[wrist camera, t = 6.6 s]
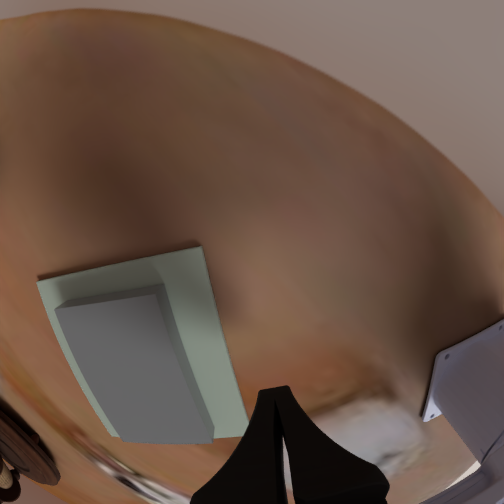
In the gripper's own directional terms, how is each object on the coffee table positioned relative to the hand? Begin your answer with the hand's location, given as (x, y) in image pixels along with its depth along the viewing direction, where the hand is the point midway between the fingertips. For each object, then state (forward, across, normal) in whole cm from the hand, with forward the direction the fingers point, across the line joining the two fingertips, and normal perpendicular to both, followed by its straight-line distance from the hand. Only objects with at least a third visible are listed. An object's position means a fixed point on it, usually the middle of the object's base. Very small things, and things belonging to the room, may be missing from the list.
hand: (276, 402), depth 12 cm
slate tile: (+3, +5, 0) cm, 6 cm away
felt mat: (+4, +8, 0) cm, 10 cm away
